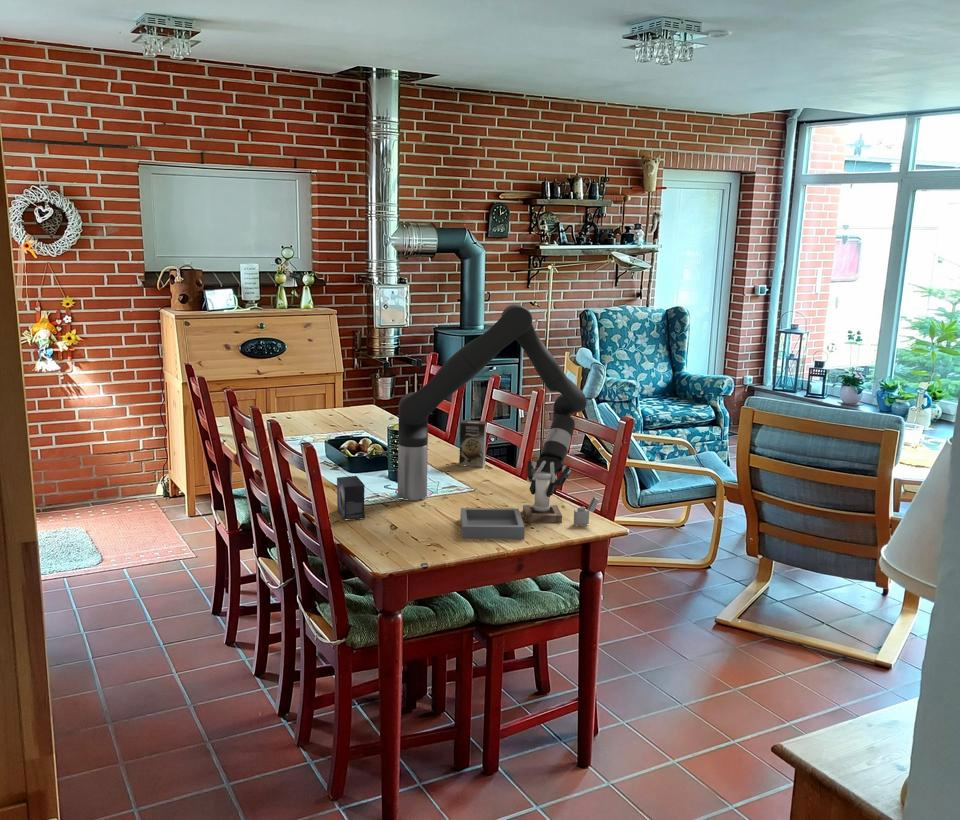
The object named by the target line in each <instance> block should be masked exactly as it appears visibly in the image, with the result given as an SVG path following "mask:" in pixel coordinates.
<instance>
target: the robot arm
mask: <svg viewBox="0 0 960 820" xmlns="http://www.w3.org/2000/svg"><path fill="white" fill-rule="evenodd" d="M500 315H501V317H500V318H499V319H498V320H497V321H496V322H495V323H494V324H493V325H492V326H491V327H490V328H489V329H488V330H487V331H485V332H484V333H483V334H481V335H478V337H476V338H474V339H473V340H471V341H469V342H468V343H466V344H465V345H464V346H462V347H461V348H460V349H458V350H457V351H456V352H454V354H453V355H451V357H449V358H448V359H447V360H446V361H445V362H444V364H443V365H442V366H441V367H440V368H439V369H438V370H437V372H436V373H435V374H434V375H433V376H432V378H430V380H429V381H428V382H427V383H426V384H425V385H423V386H422V387H421V388H419V389H418V390H417V391H415V392H414V391H411V392H408V393H405V394H404V395H403V396H402V397H401V398H400V400H399V403H398V427H397V428H398V430H397V438H398V440H397V441H398V442H397V443H398V444H397V445H398V446H397V447H398V449H397V451H398V453H397V454H398V455H397V456H398V457H397V458H398V459H397V467H398V468H397V499H398V498H403V499H408V500H417V501H420V500H419V499H423V498H425V497H426V496H427V497H428V452H429V451H428V447H429V446H428V445H429V444H428V443H429V416H430V414H432V413H433V411H435V410H436V409H437V408H438V407H439V405H441V403H442V402H444V401H445V400H446V399H447V398H449V397H450V396H451V395H452V394H454V393H455V392H456V391H458V390H459V389H461V388H462V387H463V386H465V384H467V383H468V382H470V381H471V380H472V379H474V378H475V376H477V375H478V374H479V373H480V372H481V371H482V370H483V369H484V368H486V366H487V365H488V364H490V363H491V361H492V360H494V359H495V357H497V356H498V354H500V352H501V351H502V350H504V348H506V347H508V346H509V345H510V344H511V343H513V342H514V341H516V342H517V343H518V344H519V346H520V347H521V348H522V350H523V352H525V355H526V356H527V357H528V359H529V361H530V362H531V364H532V366H533V367H534V369H535V371H536V373H537V374H538V376H539V378H540V380H542V382H543V384H544V385H545V387H546V388H547V390H548V391H549V392H551V393H552V392H554V393H555V392H557V393H559V394H560V395H559V396H557V398H555V400H554V404H553V408H552V422H551V426H550V428H549V431H548V433H547V434H546V438H545V440H544V443H543V446H542V449H541V452H540V455H539V458H538V459H537V460H536V461H532V460H527V464H526V465H527V466H526V467H527V469H526V470H527V474H526V476H527V479H528V481H529V482H530V486H529V492H530V493H531V495H534V496H535V482H536V478H535V474H534V470H535V469H536V467H537V469H536V470H535V473H536V472H541V471H544V472H549V473H551V479H550V484H549V486H548V489H547V492H546V495H547V497H550V498H551V496H553V495H554V491H555V489H556V487H558V486H559V487H562V486H563V485H564V484H565V482H566V481H567V480H568V478H569V476H570V475H571V473H572V470H571V467H570V466H568V465H567V466H566V465H564V463H565V460H566V458H567V454H568V451H569V449H570V445H571V441H572V436H573V433H574V430H575V426H576V422H575V419H573V418H572V417H571V416H572V415H575V414H579V413H580V412H583V411H584V410H586V408H587V404H588V403H587V398H586V395H585V393H584V392H583V390H582V389H581V388H580V387H578V385H577V384H576V383H574V382H573V381H572V380H571V379H570V378H569V377H568V376H567V374H566V373H565V372H564V369H562V367H561V365H560V364H559V363H558V361H557V359H556V357H554V356H553V354H552V353H551V352H550V350H549V349H548V348H547V347H546V345H545V343H544V342H543V341H542V340H541V338H540V336H539V335H538V333H537V331H536V329H535V327H534V325H533V315H532V313H531V311H530V310H529V309H528V308H526V307H525V306H523V305H521V304H511V305H509V306H506V308H504V310H503V311H502V313H501V314H500ZM560 472H561V473H560ZM559 473H560V475H559V476H557V475H558V474H559ZM425 499H426V498H425ZM423 500H424V499H423Z"/></svg>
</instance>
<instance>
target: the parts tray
mask: <svg viewBox="0 0 960 820" xmlns="http://www.w3.org/2000/svg"><path fill="white" fill-rule="evenodd" d="M520 512H521V511H520V509H519V508H507V507H506V508H503V507H502V508H500V507H498V508H497V507H495V508H493V507H492V508H491V507H489V508H488V507H487V508H486V507H485V508H484V507H481V508H480V507H479V508H478V507H476V508H475V507H460V527H461V536H462V540H525V530H526V528H525V524H524V522H523V518H522V515H521V513H520Z"/></svg>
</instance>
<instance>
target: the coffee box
mask: <svg viewBox="0 0 960 820" xmlns="http://www.w3.org/2000/svg"><path fill="white" fill-rule="evenodd" d="M459 427H460V428H459V431H460V433H459V461H458V466H459V465H466V466H465V467H469V466H484V467H485V465H486V444H487V443H486V442H487V420H471V419H469V420H468V419H462V420H461V421H460V426H459ZM484 464H485V465H484Z"/></svg>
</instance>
